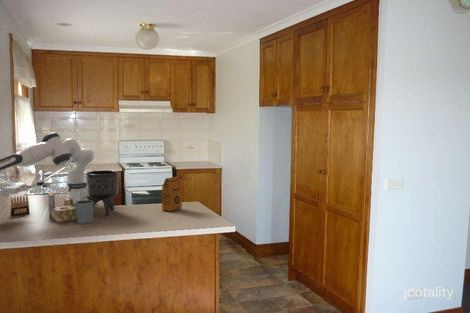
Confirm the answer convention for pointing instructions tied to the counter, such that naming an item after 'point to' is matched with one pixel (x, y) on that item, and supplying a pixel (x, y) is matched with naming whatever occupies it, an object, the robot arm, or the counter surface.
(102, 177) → the planter
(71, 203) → the thick bronze bit
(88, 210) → the blue-grey cup
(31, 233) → the counter surface
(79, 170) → the robot arm
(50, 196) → the steel bit
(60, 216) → the socket block
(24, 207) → the ammunition clip
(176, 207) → the coffee package
